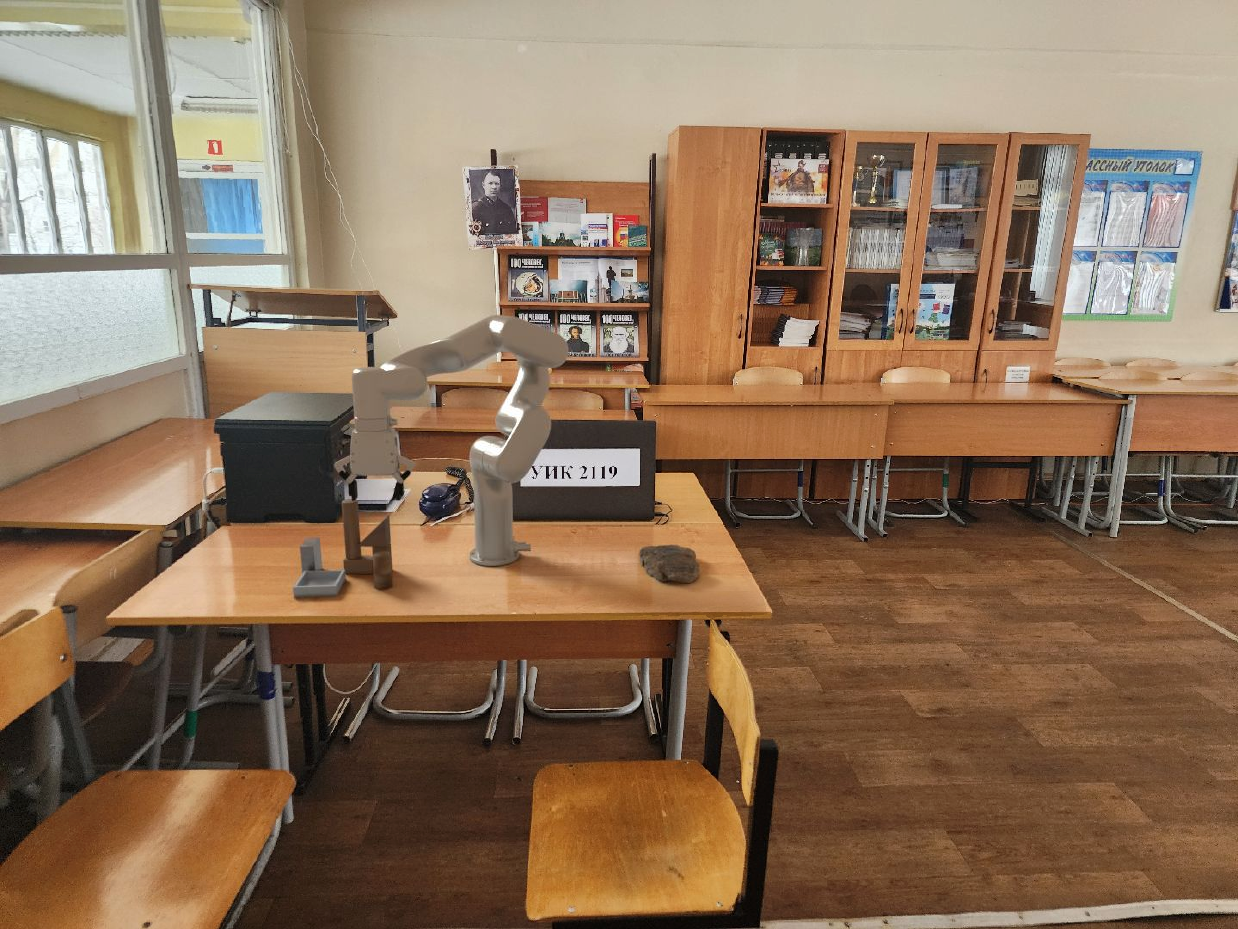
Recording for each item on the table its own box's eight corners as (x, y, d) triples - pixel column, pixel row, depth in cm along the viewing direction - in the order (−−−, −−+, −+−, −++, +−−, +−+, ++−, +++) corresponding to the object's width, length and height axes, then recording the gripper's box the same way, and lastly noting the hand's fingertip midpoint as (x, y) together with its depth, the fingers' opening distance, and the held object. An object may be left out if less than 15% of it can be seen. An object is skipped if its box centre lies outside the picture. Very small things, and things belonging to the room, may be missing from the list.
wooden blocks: (388, 575, 180) (383, 504, 175) (343, 574, 180) (338, 503, 175) (393, 569, 183) (388, 499, 178) (349, 568, 183) (344, 498, 179)
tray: (345, 579, 177) (345, 569, 176) (336, 596, 168) (336, 586, 167) (305, 580, 175) (304, 570, 175) (293, 597, 167) (292, 587, 166)
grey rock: (707, 588, 178) (690, 555, 197) (708, 569, 176) (691, 537, 195) (649, 591, 176) (638, 557, 195) (649, 572, 175) (638, 540, 194)
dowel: (393, 582, 176) (391, 550, 174) (391, 589, 172) (389, 557, 170) (376, 583, 175) (374, 551, 173) (373, 590, 171) (370, 557, 169)
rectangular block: (322, 568, 183) (319, 537, 181) (316, 578, 177) (313, 546, 175) (309, 568, 182) (306, 537, 180) (302, 578, 177) (299, 546, 175)
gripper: (415, 421, 168) (418, 493, 173) (335, 420, 166) (340, 494, 170) (411, 428, 161) (414, 503, 165) (327, 427, 159) (332, 504, 163)
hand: (377, 498), depth 168 cm, fingers open, 9 cm apart
